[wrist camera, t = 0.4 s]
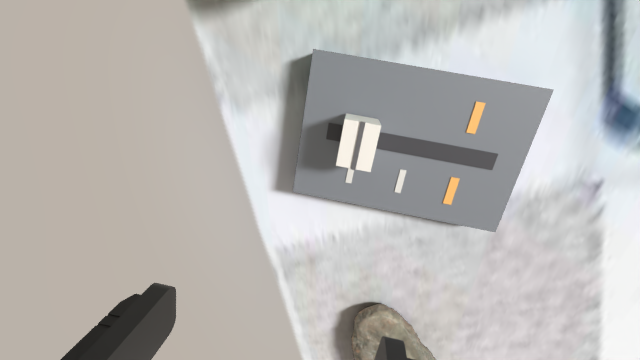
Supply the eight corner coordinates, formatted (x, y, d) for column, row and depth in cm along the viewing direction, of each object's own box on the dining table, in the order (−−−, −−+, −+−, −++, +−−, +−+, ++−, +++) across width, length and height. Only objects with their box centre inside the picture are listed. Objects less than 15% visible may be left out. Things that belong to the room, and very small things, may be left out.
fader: (346, 112, 28) (344, 118, 24) (378, 118, 28) (381, 125, 24) (338, 154, 30) (335, 166, 26) (368, 160, 30) (370, 173, 26)
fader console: (317, 51, 30) (313, 48, 27) (534, 88, 29) (554, 89, 26) (298, 182, 35) (292, 192, 32) (483, 219, 33) (495, 232, 31)
